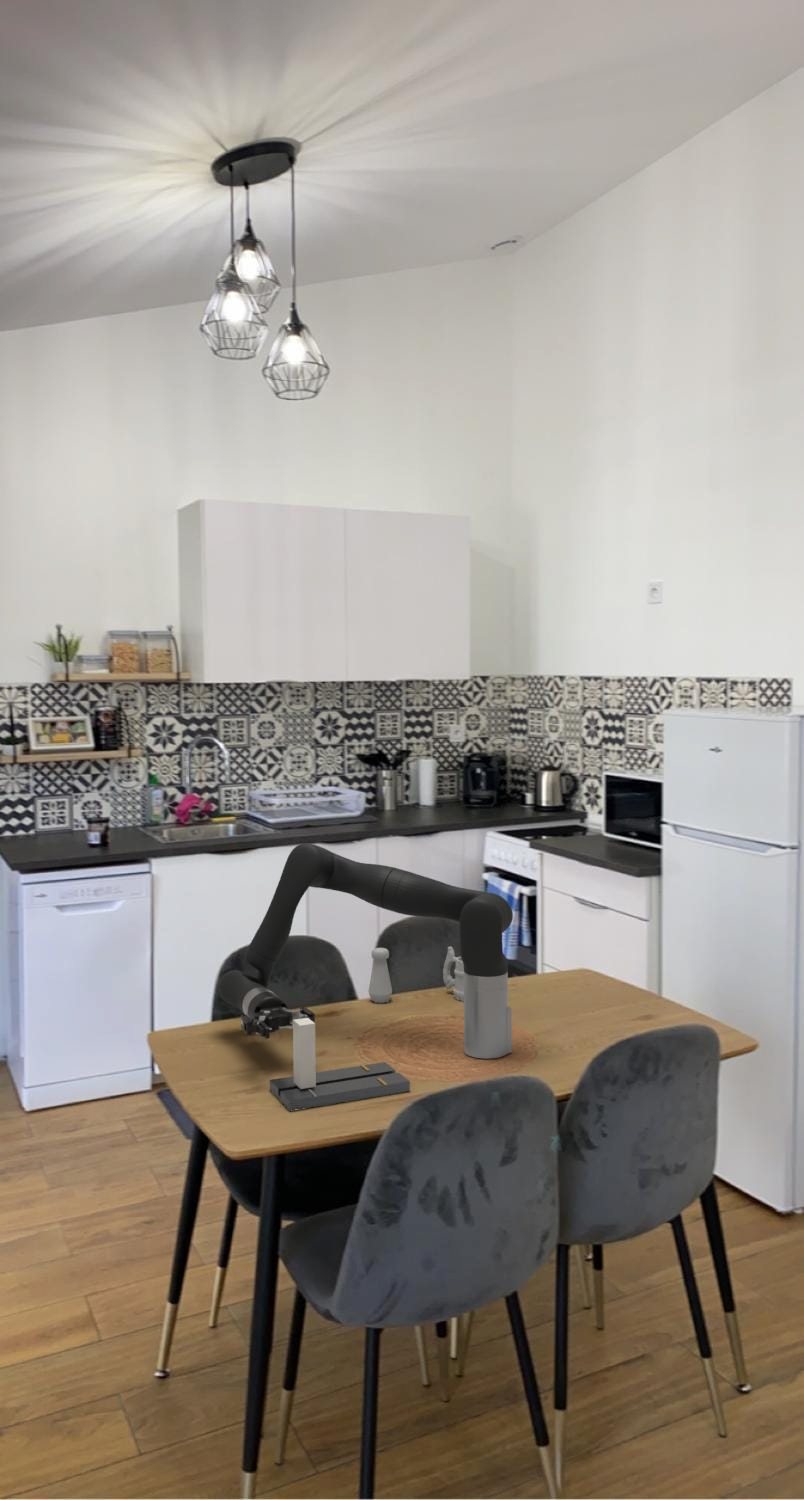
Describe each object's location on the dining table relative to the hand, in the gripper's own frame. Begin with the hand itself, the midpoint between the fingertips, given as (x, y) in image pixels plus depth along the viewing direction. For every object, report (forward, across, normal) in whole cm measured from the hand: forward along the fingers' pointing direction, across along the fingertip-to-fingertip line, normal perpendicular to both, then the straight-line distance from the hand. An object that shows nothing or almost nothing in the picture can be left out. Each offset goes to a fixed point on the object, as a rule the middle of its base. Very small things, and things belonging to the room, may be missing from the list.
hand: (288, 1030), depth 217 cm
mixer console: (+9, +7, +10) cm, 15 cm away
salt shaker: (-44, +38, +10) cm, 59 cm away
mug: (-39, +58, +10) cm, 70 cm away
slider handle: (+9, 0, +9) cm, 13 cm away
